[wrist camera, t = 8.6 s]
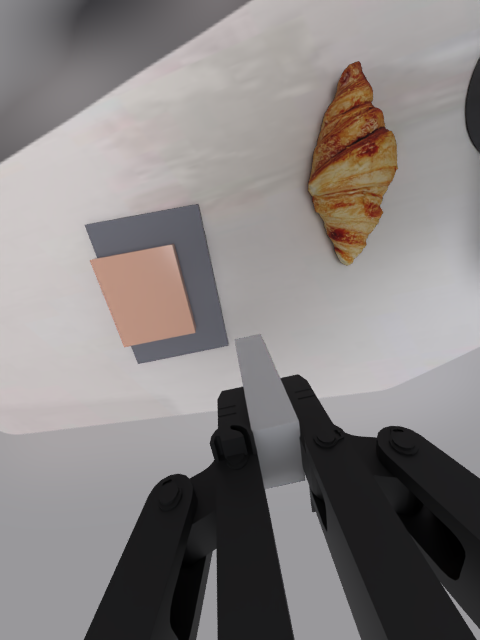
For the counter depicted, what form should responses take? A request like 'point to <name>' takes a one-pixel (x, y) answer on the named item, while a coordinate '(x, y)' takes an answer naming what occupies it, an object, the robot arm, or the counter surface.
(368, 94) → the croissant
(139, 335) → the block
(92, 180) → the counter surface
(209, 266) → the mat
